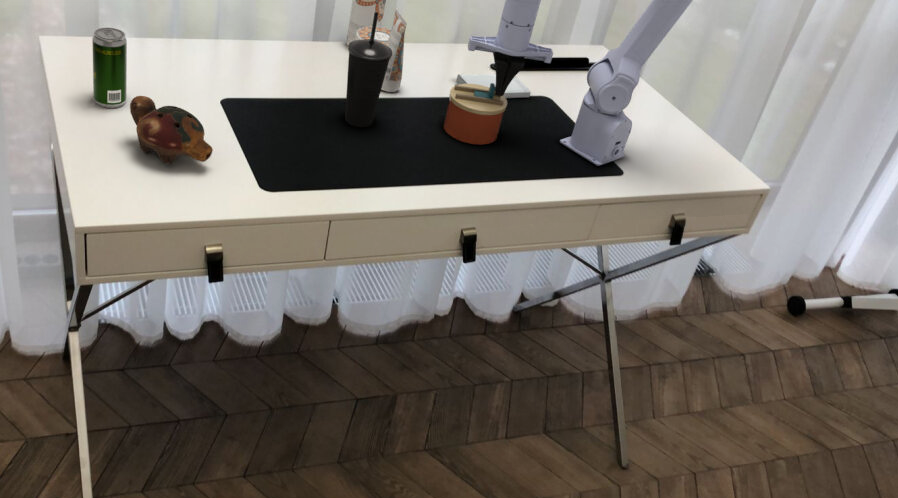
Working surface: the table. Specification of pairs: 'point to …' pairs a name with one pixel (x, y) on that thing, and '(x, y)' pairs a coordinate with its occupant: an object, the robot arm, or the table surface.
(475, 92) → the slider
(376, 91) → the drinking cup
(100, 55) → the beer can
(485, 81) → the hard drive
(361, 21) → the cosmetic set
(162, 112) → the decorative turtle
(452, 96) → the brown and beige cylinder
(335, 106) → the table surface
